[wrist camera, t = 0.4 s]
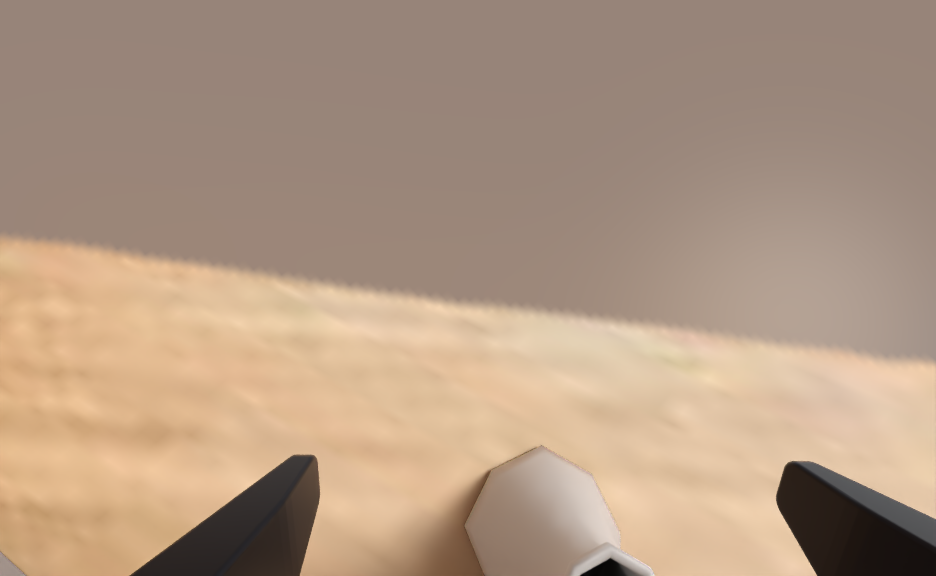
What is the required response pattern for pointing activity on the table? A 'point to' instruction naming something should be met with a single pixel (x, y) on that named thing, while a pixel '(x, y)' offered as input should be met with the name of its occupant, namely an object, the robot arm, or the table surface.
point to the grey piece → (8, 567)
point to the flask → (546, 522)
